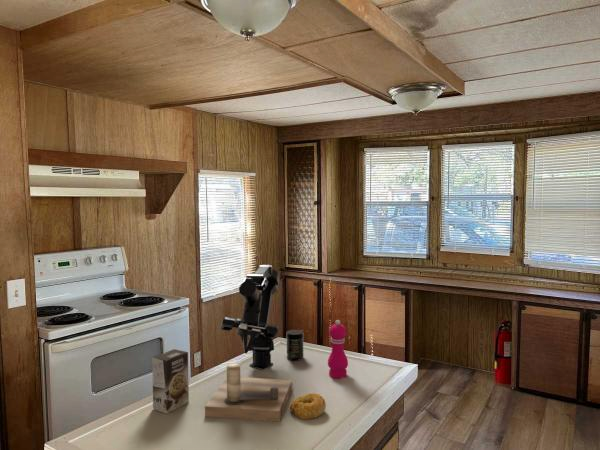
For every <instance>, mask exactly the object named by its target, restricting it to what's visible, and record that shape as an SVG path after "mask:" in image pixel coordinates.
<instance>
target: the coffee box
mask: <svg viewBox="0 0 600 450" xmlns="http://www.w3.org/2000/svg"><path fill="white" fill-rule="evenodd" d="M151 359H152V363H151V364H152V369H151V370H152V409H153V410H155V411H158V412H161V413H162V414H169V413H171V412H173V411H175V410H177V409H179V408H181V407H183V406H184V405H187V404H188V403H189V402H190V399H189V398H190V396H189V395H190V394H189V393H190V392H189V352H188V351H184V350H180V349H179V350H178V349H176V348H175V349H171V350H169V351H166V352H162V353H160V354H157V355H155V356H152V357H151Z"/></svg>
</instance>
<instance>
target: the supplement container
mask: <svg viewBox="0 0 600 450" xmlns="http://www.w3.org/2000/svg"><path fill="white" fill-rule="evenodd" d="M285 338H286V358H287V360H290V361H293V362H294V361H295V362H296V361H300V360H302V359H303V358H304V331H303V330H300V329H289V330H287V331H286V336H285Z"/></svg>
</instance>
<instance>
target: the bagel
mask: <svg viewBox="0 0 600 450" xmlns="http://www.w3.org/2000/svg"><path fill="white" fill-rule="evenodd" d="M288 407H289V410H290V412H292V413H293V414H295V416H296V417H297V418H300V419H303V420H311V419H312V420H313V419H315V418H317V417H320V415H322V414H323V413H324V412H325V410H326V408H327V404H326V401H325V398H324V397H323V396H322V395H320V394H319V393H313V392H311V393H308V394H306V395H303V396H302V395H301V396H298V397H297V398H295V399H294V400H293V401H292V402H291V403H290V404H289V406H288Z"/></svg>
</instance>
